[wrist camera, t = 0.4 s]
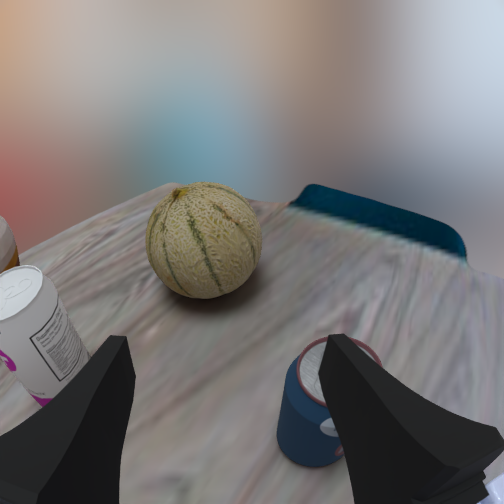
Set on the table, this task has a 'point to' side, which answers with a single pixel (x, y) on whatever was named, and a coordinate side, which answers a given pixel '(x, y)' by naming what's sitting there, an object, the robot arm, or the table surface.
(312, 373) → the soda can
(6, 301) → the supplement can
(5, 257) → the jug
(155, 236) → the cantaloupe
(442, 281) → the table surface
